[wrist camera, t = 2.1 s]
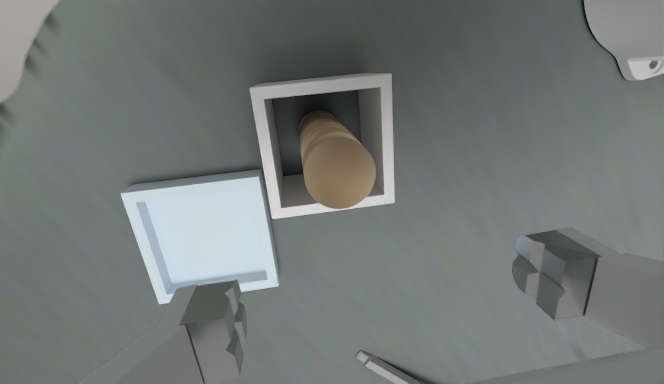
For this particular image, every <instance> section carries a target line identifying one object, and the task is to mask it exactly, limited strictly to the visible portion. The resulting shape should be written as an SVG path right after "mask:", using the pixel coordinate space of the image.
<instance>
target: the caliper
mask: <svg viewBox="0 0 664 384" xmlns="http://www.w3.org/2000/svg"><path fill="white" fill-rule="evenodd" d="M356 357H357V358H358V359H359V360H361V361H362V362H364V363H365V366H366V367H368V368H369V369H371V370H373V371H375V372H376V373H378V374H380V375H381V376H383V377H385V378H387V379H388V380H390V381H392V382H393V383H395V384H421V383H420V382H418V381H416V380H415V379H413V378H411V377H410V376H408V375H406V374H404V373H403V372H401V371H399V370H398V369H396V368H394V367H393V366H391V365H389V364H388V363H386V362H384V361H383V360H381V359H379V358H377V357H375V356H373V355H370V354H366V353H364V352H363V351H360V352H359V353H358V354H357V355H356Z"/></svg>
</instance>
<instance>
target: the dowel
mask: <svg viewBox="0 0 664 384" xmlns="http://www.w3.org/2000/svg"><path fill="white" fill-rule="evenodd" d="M298 135H299V143H300V150H301V158H302V165H303V173H304V180H305V185H306V188H307V190H308V192H309V194H310V195H311V196H312V198H313V199H314V200H315V201H317V202H318V203H320V204H321V205H323V206H325V207H329V208H333V209H344V208H349V207H352V206H354V205H356V204H358V203H360V202H361V201H362V200H364V199H365V198H366V197H367V195H368V194H369V193H370V191H371V190H372V188H373V186H374V183H375V179H376V166H375V162H374V160H373V158H372V156H371V154H370V153H369V152H368V150H367V149H366V148H365V147H364V146H363V145H362V144H361V143H360V142H359V141H358V140H357V139H356V138H355V137H354V136H353V135H352V134H351V133H350V132H349V131H348V130H347V129H346V128H345V127H344V126H343V125H342V124H341V123H340V122H339V121H338V120H337V119H336V118H335V117H334V116H333V115H332V114H331V113H329V112H327V111H324V110H314V111H311V112H309V113H307V114H306V115H305V116H304V117H303V118H302V120H301V121H300V124H299V127H298Z"/></svg>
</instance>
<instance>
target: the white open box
mask: <svg viewBox="0 0 664 384" xmlns="http://www.w3.org/2000/svg"><path fill="white" fill-rule="evenodd" d="M348 90H358V93H359V110H360V128H361V144H362V145H363V146H364V147H365V148H366V149H367V150H368V152H369V153H370V154H371V156H372V158H373V160H374V162H375V166H376V179H375V183H374V186H373V188H372V190H371V191H370V193H369V194H368V195H367V197H366V198H365V199H364V200H362V201H361V202H360V203H358V204H356V205H354V206H352V207H349V208H344V209H333V208H329V207H325V206H323V205H321V204H320V203H318V202H317V201H315V200H314V199H313V198H312V196H311V195H310V194H309V192H308V190H307V188H306V185H305V180H304V174H298V175H289V176H283V171H282V165H281V158H280V152H279V145H278V138H277V132H276V125H275V119H274V112H273V106H272V99H271V98H280V97H290V96H300V95H309V94H319V93H329V92H338V91H348ZM250 94H251V100H252V106H253V111H254V117H255V123H256V129H257V134H258V140H259V146H260V152H261V157H262V163H263V169H264V175H265V180H266V186H267V192H268V197H269V203H270V209H271V215H272V219H277V218H285V217H292V216H300V215H307V214H315V213H322V212H330V211H337V210H345V209H352V208H360V207H367V206H375V205H382V204H390V203H395V202H394V157H393V112H392V74H385V73H361V74H351V75H341V76H331V77H320V78H310V79H300V80H290V81H280V82H270V83H260V84H258V85H255V86H253V87H250Z"/></svg>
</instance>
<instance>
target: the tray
mask: <svg viewBox="0 0 664 384" xmlns="http://www.w3.org/2000/svg"><path fill="white" fill-rule="evenodd" d="M120 194H121V197H122V200H123V202H124V205H125V208H126V211H127V214H128V217H129V219H130V222H131V225H132V228H133V231H134V234H135V237H136V239H137V242H138V245H139V248H140V251H141V254H142V257H143V259H144V262H145V265H146V268H147V271H148V274H149V277H150V279H151V282H152V285H153V288H154V291H155V294H156V296H157V299H158V302H159V304H164V303H169V302H170V300H171V298H172V297H173V295H174V293H175V291H176V289H177V288H179V287H181V286H187V285H193V284H201V283H209V282H216V281H224V280H232V279H237V281H238V282H239V286H240V290H241V292H244V291H250V290H257V289H264V288H270V287H277V286H279V267H278V261H277V256H276V250H275V244H274V239H273V233H272V228H271V222H270V216H269V211H268V205H267V199H266V194H265V188H264V182H263V177H262V171H261V169H257V170H249V171H241V172H233V173H224V174H216V175H208V176H199V177H191V178H183V179H174V180H166V181H158V182H150V183H141V184H133V185H131V186H130V187H129V188H127V189H126V190H125V191H123V192H122V193H120Z"/></svg>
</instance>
